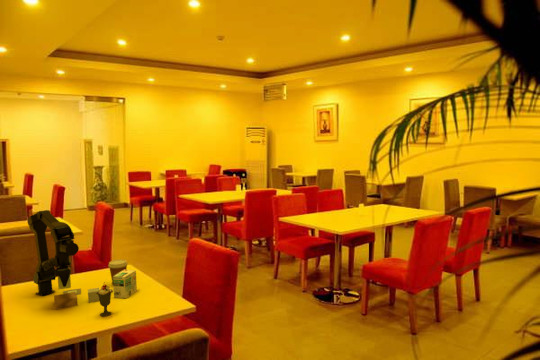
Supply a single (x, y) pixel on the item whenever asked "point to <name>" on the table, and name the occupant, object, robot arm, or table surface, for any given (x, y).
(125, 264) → the disposable coffee cup
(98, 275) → the table surface
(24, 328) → the table surface
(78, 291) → the swatch card
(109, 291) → the sundae
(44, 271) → the robot arm
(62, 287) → the sage cube
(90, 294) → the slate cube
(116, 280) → the light bulb box
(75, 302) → the walnut block
